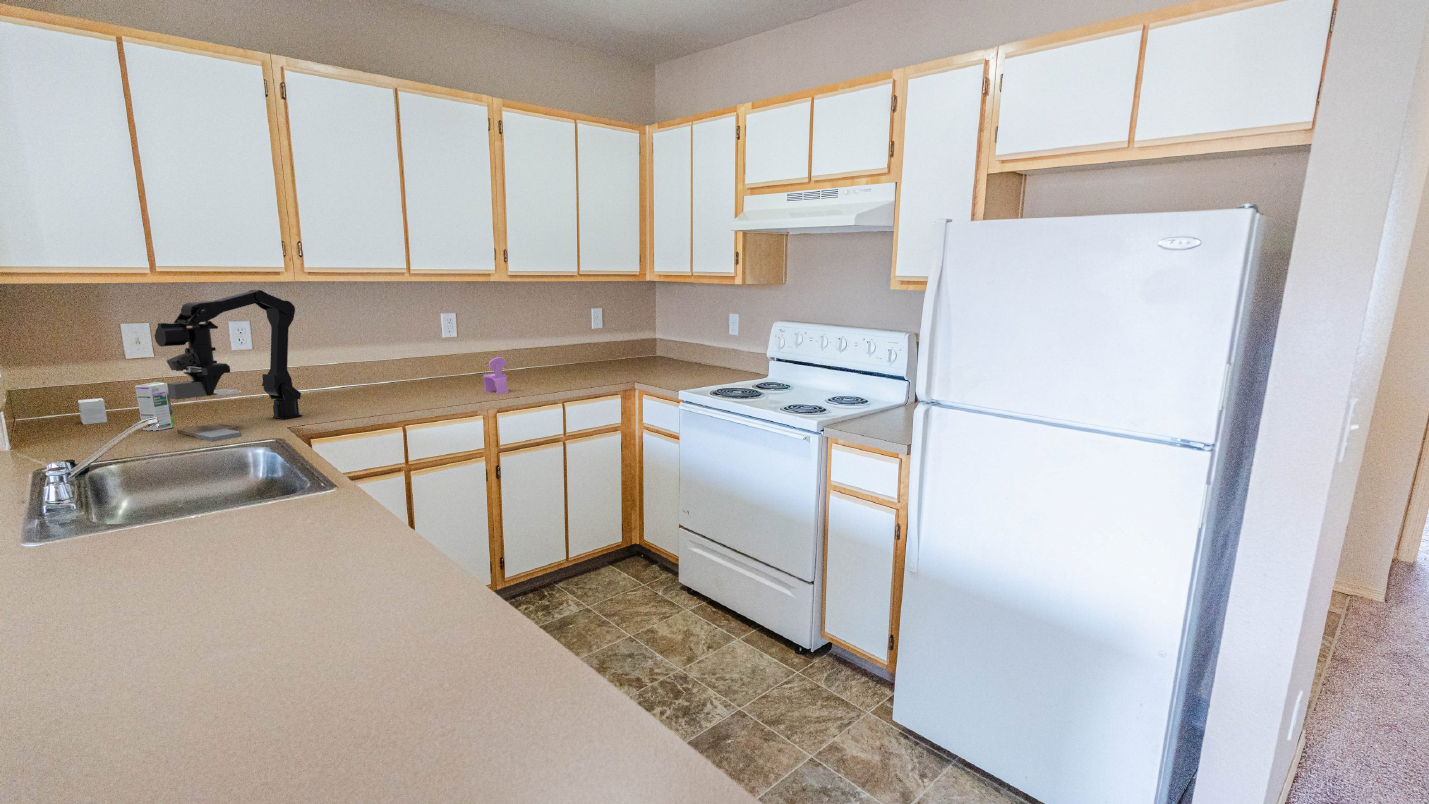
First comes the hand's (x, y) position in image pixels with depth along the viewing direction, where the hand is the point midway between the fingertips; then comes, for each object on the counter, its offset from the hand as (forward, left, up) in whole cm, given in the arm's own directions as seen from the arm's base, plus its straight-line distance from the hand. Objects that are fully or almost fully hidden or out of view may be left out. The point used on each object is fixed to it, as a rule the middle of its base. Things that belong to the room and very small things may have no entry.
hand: (206, 395), depth 206 cm
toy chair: (-95, +24, -12) cm, 99 cm away
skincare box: (+11, -48, -12) cm, 51 cm away
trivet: (+1, -1, -12) cm, 12 cm away
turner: (0, 0, 0) cm, 0 cm away
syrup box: (+6, -18, -12) cm, 22 cm away
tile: (-1, +10, -11) cm, 15 cm away
